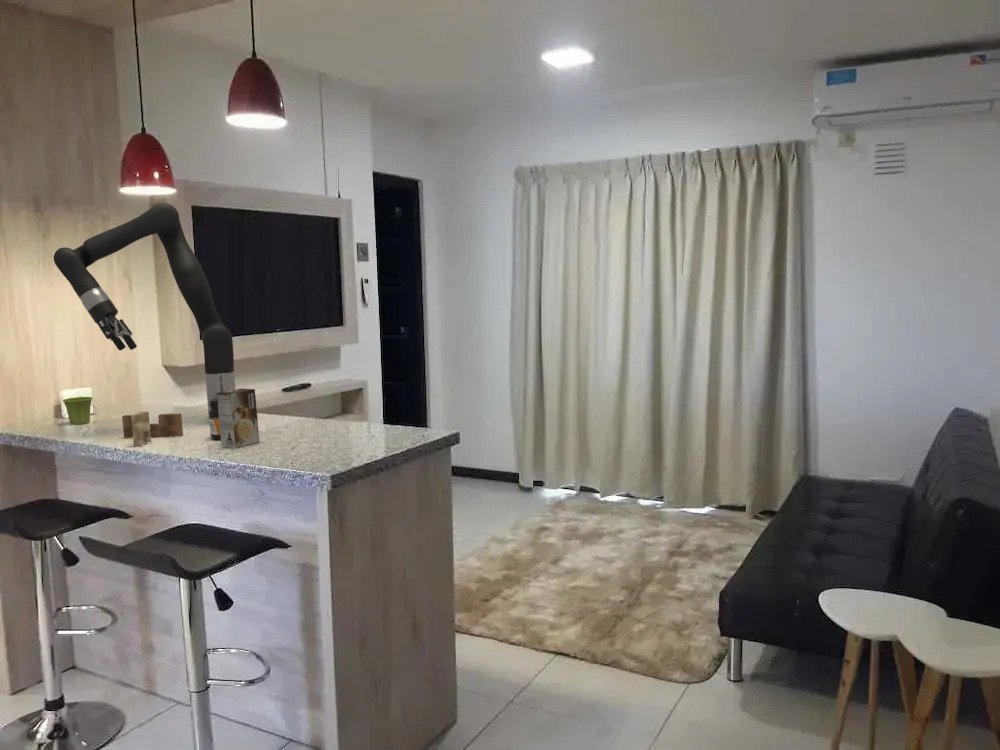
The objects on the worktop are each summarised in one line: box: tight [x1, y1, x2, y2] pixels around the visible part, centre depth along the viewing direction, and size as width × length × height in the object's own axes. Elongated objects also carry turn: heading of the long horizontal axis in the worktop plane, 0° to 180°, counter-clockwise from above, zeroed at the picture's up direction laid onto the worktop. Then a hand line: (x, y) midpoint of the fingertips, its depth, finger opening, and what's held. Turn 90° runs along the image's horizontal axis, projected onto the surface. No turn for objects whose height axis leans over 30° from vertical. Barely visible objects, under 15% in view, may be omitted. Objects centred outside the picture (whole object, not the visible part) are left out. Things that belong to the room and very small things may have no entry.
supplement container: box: [208, 398, 221, 441], centre depth 251 cm, size 10×10×12 cm
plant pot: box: [62, 396, 94, 425], centre depth 286 cm, size 9×9×9 cm
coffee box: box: [217, 388, 260, 449], centre depth 238 cm, size 9×6×16 cm
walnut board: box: [121, 413, 184, 439], centre depth 256 cm, size 18×2×7 cm, turn 88°
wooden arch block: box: [130, 411, 152, 447], centre depth 244 cm, size 2×6×10 cm, turn 178°
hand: (128, 348), depth 256 cm, fingers open, 8 cm apart
